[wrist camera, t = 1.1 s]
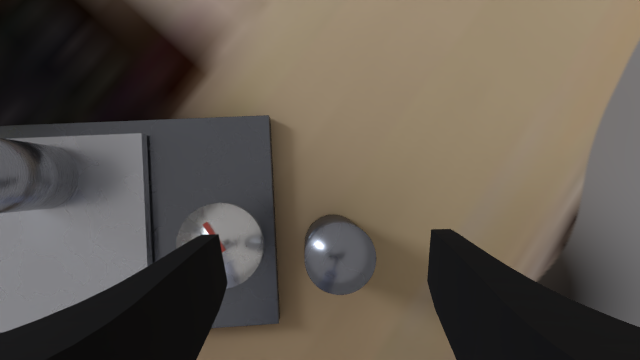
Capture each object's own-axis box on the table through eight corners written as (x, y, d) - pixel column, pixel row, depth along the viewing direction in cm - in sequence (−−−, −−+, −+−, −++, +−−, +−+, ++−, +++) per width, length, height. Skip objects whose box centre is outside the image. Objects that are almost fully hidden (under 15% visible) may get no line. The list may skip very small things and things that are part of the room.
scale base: (279, 317, 23) (277, 328, 21) (-19, 337, 22) (-47, 351, 20) (270, 118, 23) (267, 112, 21) (-27, 130, 22) (-56, 125, 20)
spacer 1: (79, 207, 21) (7, 214, 16) (13, 210, 20) (-82, 219, 15) (76, 143, 21) (3, 130, 16) (10, 146, 20) (-85, 134, 15)
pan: (154, 317, 21) (149, 322, 21) (-38, 330, 21) (-50, 335, 20) (146, 134, 21) (141, 133, 21) (-45, 142, 21) (-58, 141, 20)
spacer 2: (362, 269, 23) (377, 292, 18) (306, 272, 23) (306, 297, 18) (359, 212, 23) (374, 221, 18) (303, 216, 23) (303, 224, 18)
